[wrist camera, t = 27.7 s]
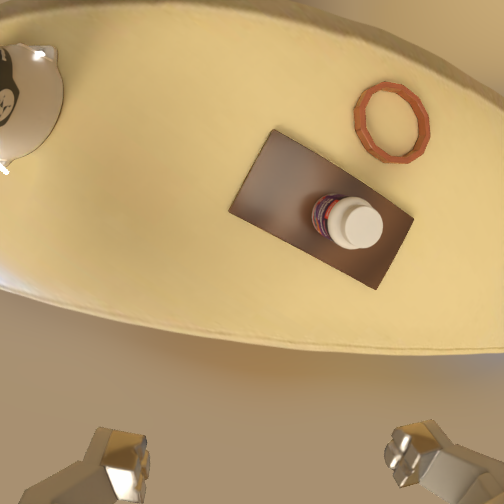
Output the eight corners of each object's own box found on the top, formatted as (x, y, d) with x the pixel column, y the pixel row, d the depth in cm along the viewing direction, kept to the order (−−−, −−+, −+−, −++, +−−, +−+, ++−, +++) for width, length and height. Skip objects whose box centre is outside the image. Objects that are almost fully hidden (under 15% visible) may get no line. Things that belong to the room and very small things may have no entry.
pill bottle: (313, 191, 37) (341, 195, 28) (354, 195, 38) (392, 201, 28) (308, 236, 38) (334, 254, 29) (349, 239, 39) (385, 257, 29)
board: (228, 211, 38) (228, 211, 37) (272, 130, 36) (273, 128, 35) (373, 288, 42) (376, 290, 41) (410, 218, 40) (414, 219, 39)
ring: (340, 134, 37) (346, 132, 35) (373, 70, 35) (379, 66, 33) (405, 178, 39) (412, 179, 37) (432, 116, 37) (439, 114, 35)
